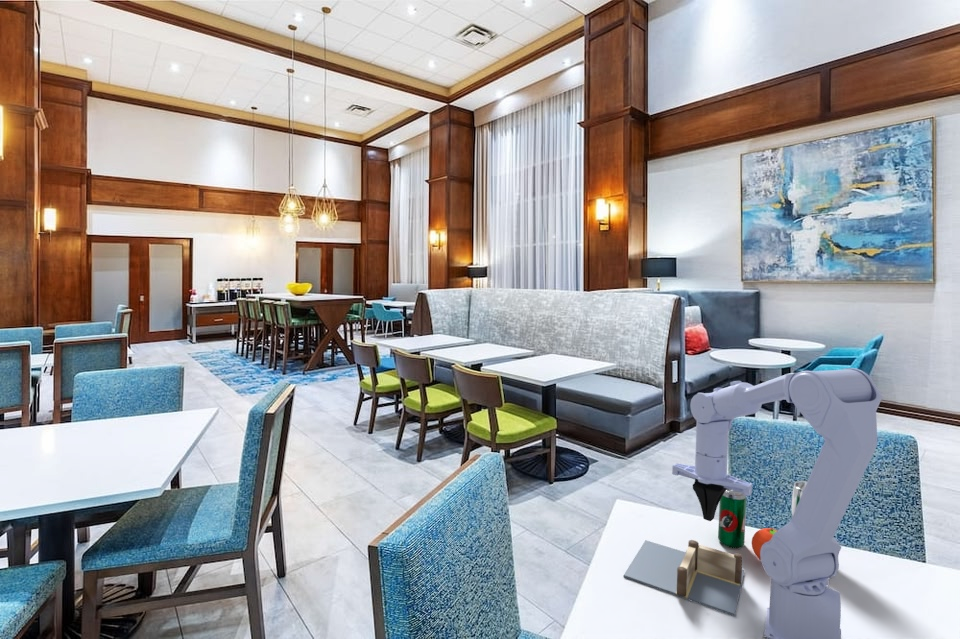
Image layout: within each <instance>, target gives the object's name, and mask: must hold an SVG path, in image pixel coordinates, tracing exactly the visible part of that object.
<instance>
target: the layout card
mask: <svg viewBox="0 0 960 639" xmlns="http://www.w3.org/2000/svg"><path fill="white" fill-rule="evenodd" d="M686 552H687V551H683V550H680V549H677V548H673V547H671V546H670V547H669V546H666V545H663V544H659V543H656V542H653V541H650V540H644V542H643V544H642V545H641V547H640V548H639V550H638V552H637V553H636V555H635V556H634V557H633V559H632V561H631V563H630V564H629V565H628V568H627V569H626V571H625V572H624V573H623V577H624V578H626V579H629V580H631V581H634V582H637V583H640V584H642V585H645V586H649V587H651V588H654V589H657V590H660V591H662V592H665V593H668V594H671V595H673V596H677V597H680V598H682V599H684V600H685V599H686V600H687V601H690V602H693V603H696V604H700V605H702V606H704V607H705V606H706V607H708V608H710V609H712V610H716V611H719V612H723V613H725V614H728V615H731V616H733V617H735V615H736V612H737V611H736V610H737V606H738V601H739V599H740V598H739V597H740V593H741V588H742V583H743V580H744V579H743V578H744V574H745V569H743V568H742V582H741V584H737V583H735V582H732V581H729V580H726V579H723V578H719V577H716V576H713V575H710V574H707V573H704V572H700V571H697V570H696V571H694V573H693V576H692V578H691V581H690V583H689V586H688V588H687V591H686V596H685V597H682V596H679V595H678V594H677V568H678V567H680V565H681V563H682V561H683V558H684V556H685V554H686Z"/></svg>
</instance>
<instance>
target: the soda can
mask: <svg viewBox="0 0 960 639" xmlns="http://www.w3.org/2000/svg"><path fill="white" fill-rule="evenodd" d="M718 506H719V508H718V528H717V529H718V532H717V533H718V534H717V539H718V541H719V542H720V543H721V545H723V546H725V547H727V548H730V549H741V548H742V547H743V546H744V545H745V537H746V536H745V535H746V519H747V518H746V515H747V514H746V513H747V496H746V495H743V493H740V492H737V491H733V490H730V489H726V491H725V492H724V494H723V496H722V497H721V499H720V501H719V504H718Z"/></svg>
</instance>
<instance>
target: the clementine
mask: <svg viewBox="0 0 960 639" xmlns="http://www.w3.org/2000/svg"><path fill="white" fill-rule="evenodd" d="M776 531H778V529H774V528H770V527H765V528H761V529H758V530H757V531H756V532H755V533H754V534H753V536H752V538H751V548H752V551H753V553H754V555H755V556H756V557H757V559H759V560H760V561H761V558H760V550H761V547H762V545H763V544H764V543H766V542H768V541H770V540H771V538H772V536H773V534H774V533H775V532H776Z"/></svg>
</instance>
